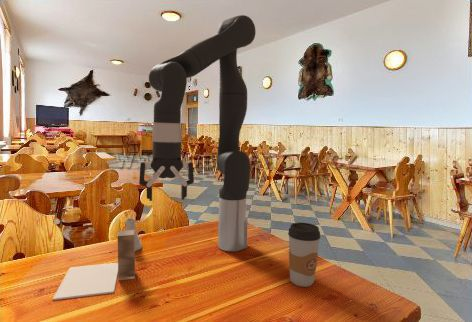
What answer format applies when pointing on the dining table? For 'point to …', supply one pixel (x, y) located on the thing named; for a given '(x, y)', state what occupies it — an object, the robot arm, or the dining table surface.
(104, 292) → the mat
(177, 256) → the dining table surface
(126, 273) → the grey metallic bar
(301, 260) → the coffee cup
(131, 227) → the flask
